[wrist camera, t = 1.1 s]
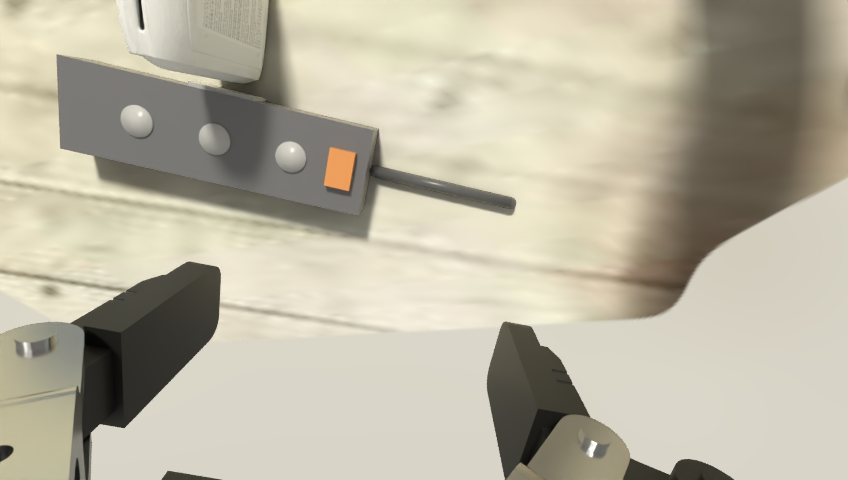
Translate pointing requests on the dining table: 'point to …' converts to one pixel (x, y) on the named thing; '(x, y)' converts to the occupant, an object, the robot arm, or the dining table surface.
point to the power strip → (226, 138)
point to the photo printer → (198, 35)
